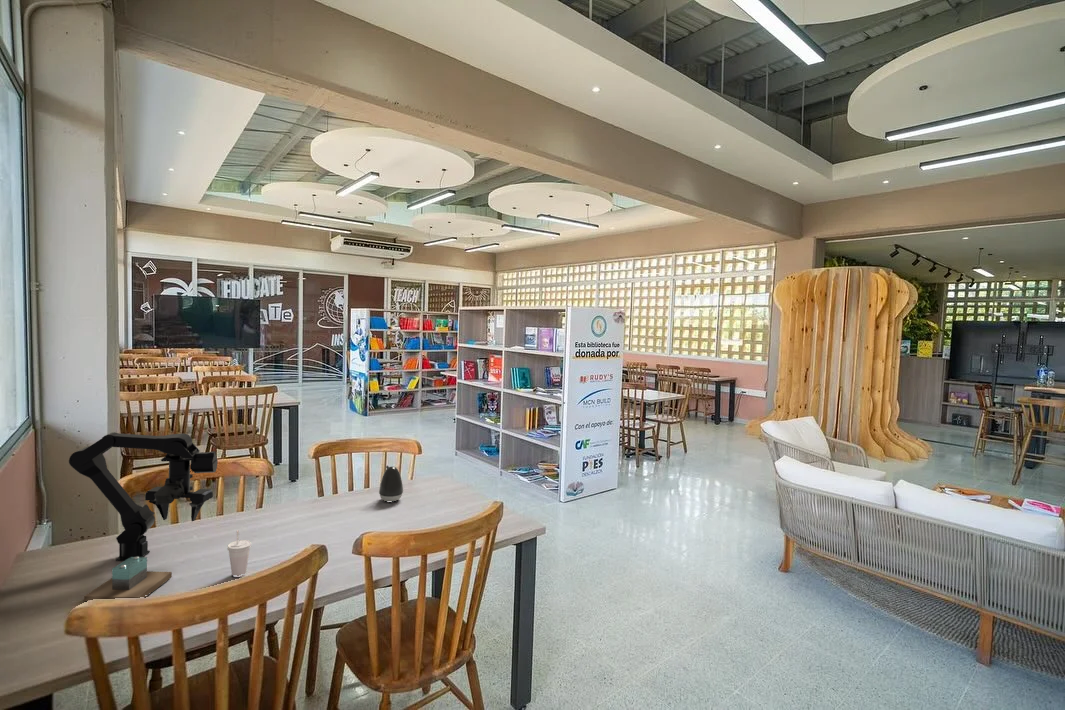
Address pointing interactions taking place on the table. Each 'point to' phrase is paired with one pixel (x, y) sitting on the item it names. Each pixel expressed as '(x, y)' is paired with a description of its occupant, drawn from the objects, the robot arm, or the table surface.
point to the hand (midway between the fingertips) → (179, 520)
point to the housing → (129, 573)
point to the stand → (137, 591)
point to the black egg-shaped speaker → (391, 485)
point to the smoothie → (239, 555)
